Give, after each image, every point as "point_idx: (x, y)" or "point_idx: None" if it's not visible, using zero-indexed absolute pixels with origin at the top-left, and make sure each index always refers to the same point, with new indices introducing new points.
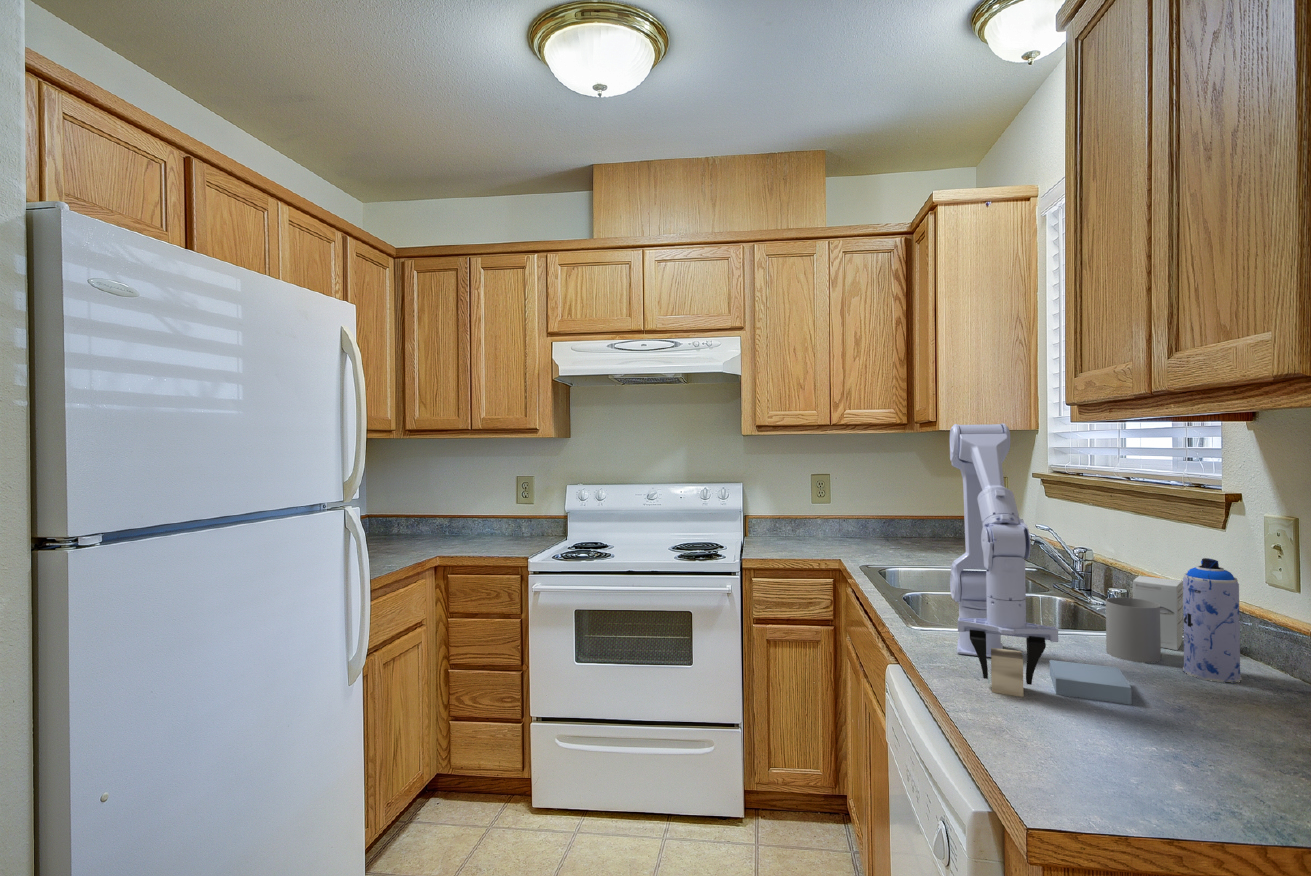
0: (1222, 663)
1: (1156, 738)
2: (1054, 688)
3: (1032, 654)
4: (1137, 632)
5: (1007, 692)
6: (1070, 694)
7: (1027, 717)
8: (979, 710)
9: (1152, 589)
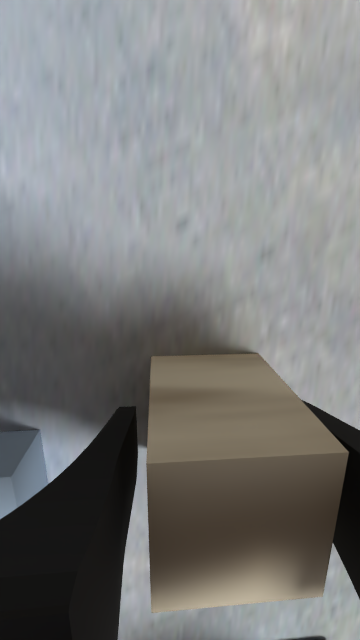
0: None
1: None
2: (46, 480)
3: (69, 511)
4: None
5: (206, 357)
6: None
7: (142, 110)
8: (327, 112)
9: None
